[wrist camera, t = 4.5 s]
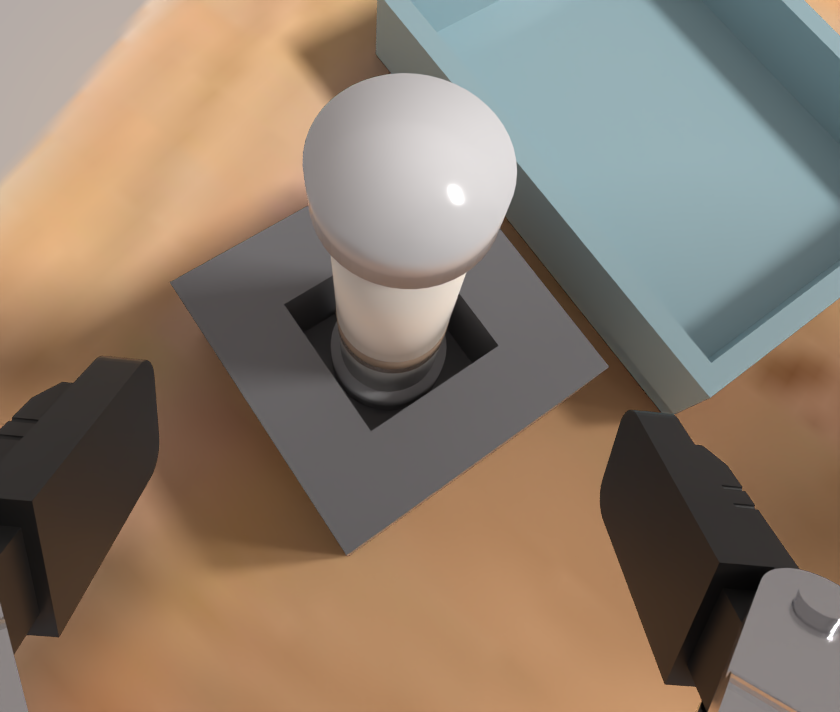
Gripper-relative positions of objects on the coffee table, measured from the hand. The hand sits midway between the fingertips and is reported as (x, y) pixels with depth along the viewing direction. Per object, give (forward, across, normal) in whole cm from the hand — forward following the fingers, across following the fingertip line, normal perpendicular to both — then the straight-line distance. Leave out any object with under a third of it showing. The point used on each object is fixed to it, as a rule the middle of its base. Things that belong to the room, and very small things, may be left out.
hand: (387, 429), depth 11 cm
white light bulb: (+10, 0, +4) cm, 10 cm away
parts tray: (+18, -10, -3) cm, 20 cm away
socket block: (+10, 0, +4) cm, 11 cm away
